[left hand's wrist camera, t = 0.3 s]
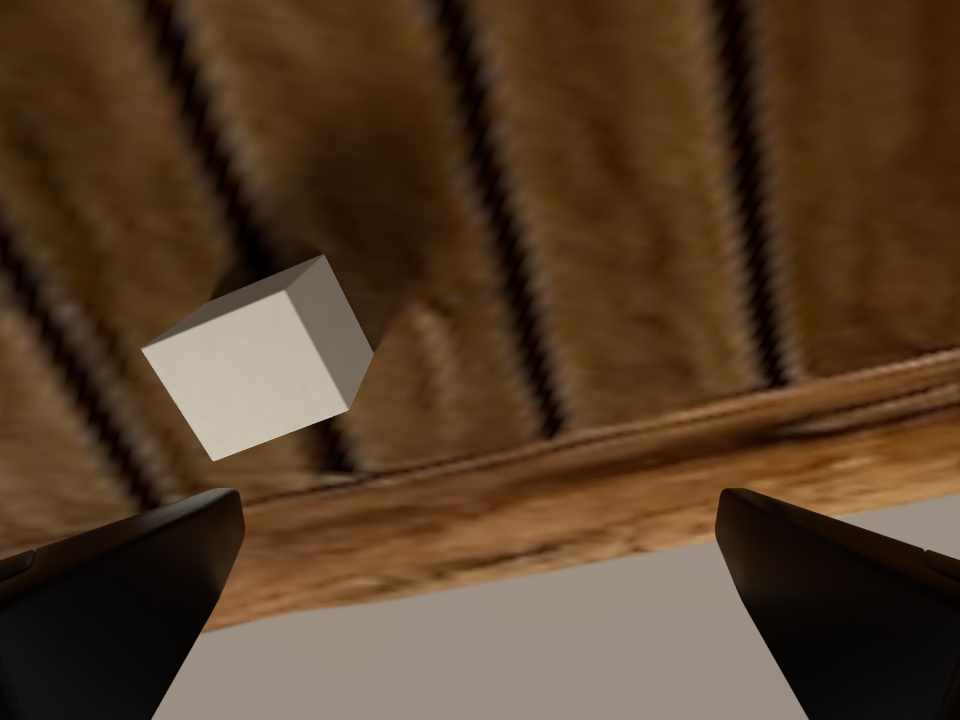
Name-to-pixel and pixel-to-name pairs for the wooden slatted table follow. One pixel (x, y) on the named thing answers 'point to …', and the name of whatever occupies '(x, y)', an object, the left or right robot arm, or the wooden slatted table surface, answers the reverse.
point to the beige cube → (264, 359)
